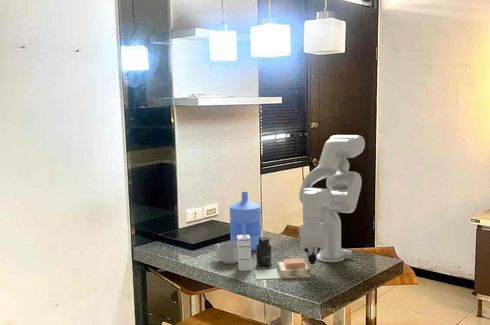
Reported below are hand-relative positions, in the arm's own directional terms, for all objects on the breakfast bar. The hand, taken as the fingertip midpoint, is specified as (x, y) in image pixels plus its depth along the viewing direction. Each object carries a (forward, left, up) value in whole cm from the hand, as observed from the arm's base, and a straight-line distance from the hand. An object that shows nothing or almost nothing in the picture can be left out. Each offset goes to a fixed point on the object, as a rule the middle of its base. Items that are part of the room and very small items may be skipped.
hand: (312, 263), depth 208 cm
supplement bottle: (+19, -13, -4) cm, 23 cm away
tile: (+7, 0, -1) cm, 8 cm away
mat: (+13, 0, -4) cm, 14 cm away
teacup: (+35, -20, -4) cm, 41 cm away
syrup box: (+28, -9, -4) cm, 30 cm away
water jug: (+25, -41, -4) cm, 48 cm away
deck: (+8, 0, -4) cm, 9 cm away
